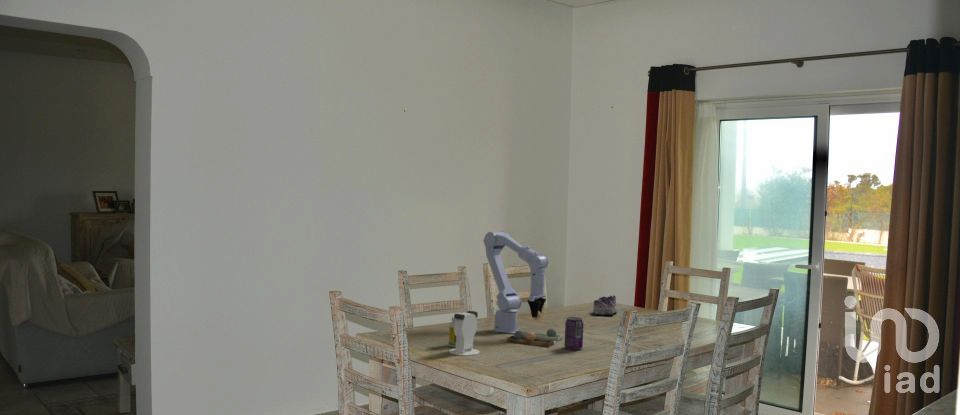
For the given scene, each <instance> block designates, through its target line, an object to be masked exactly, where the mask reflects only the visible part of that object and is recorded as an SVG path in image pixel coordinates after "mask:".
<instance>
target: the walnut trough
mask: <svg viewBox="0 0 960 415" xmlns="http://www.w3.org/2000/svg"><path fill="white" fill-rule="evenodd" d="M506 342H507V343H513V344H520V345H521V344H522V345H528V346H538V347H545V348H550V347H552V346H554V345H555V343H554V341H552V340H544V339H536V338H535V340H534V341H528V340H526V337H524V338H523V339H522V340H520V339H515V338H514V335H511V336H508V337H506Z"/></svg>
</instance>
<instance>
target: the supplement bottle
mask: <svg viewBox="0 0 960 415" xmlns="http://www.w3.org/2000/svg"><path fill="white" fill-rule="evenodd" d="M454 323H455V319H454V315H453V316H451V323H450V324H449V330H448V331H449V333H448V336H449V337H448V345H449V347H451V348H455V347H456V342H455V341H454V337H455V333H454Z"/></svg>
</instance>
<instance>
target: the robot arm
mask: <svg viewBox="0 0 960 415" xmlns="http://www.w3.org/2000/svg"><path fill="white" fill-rule="evenodd" d="M482 241H483V243H484V244H483V245H484V247H485V254H486V258H487V261H488V264H489V267H490V270H491V273H492V275H493V277H494V278H493V279H494V280H495V283H496V286H497V289H498V293H497V295H496V299H497V308H498V309H497V310H496V311H495V313H494V326H493V332H496V333H497V332H498V333H504V334H505V333H506V334H512V335H514V333H515V332H516V331H521V330H520V329H518V315H519V314H518V312H519V311H520V310H519V309H520V308H521V307H522V302H523V301H522V299H521V296H519V295H518V293H517V290H515V289H514V288H513V287H512V286H511V283H510V280H509V278H508V276H507V275H508V274H507V272H506V269H505V267H504V263H503V261H502V258H501V256H500V254H501V252H502V251H503V250H504V248H505V247H507V248H509V249H511V250H512V251H514V252H515V253H517V255H518V257H519V259H521V260H522V261H524V262H525V263H527V264H528V266H529V268H530V291H529V293H530V294H529V296H528V299H527V304H528V306H529V310H530V314H531V317H537V316H538V311H540V313H541V314H542V312H543V309H544V305H545V303H546V302H547V296H548V295H547V294H546V292H545V281H546V280H545V276H546V268H547V267H548V264H549V259H548V258H547V256H546V255H544V254H539V252H538V251H534V249H531V248H532V247H531V246H529V245H521V243H519V242H517V240H515V239H514V238H512V237H511V236H510V234H508V233H507V232H506V231H495V232H492V231H488V232H486V234H485V235H484V237H483V240H482Z"/></svg>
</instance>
